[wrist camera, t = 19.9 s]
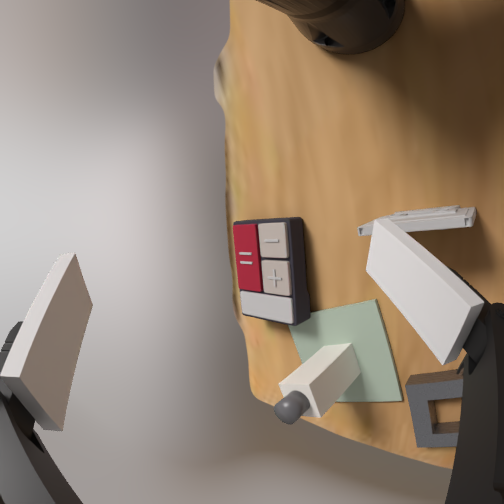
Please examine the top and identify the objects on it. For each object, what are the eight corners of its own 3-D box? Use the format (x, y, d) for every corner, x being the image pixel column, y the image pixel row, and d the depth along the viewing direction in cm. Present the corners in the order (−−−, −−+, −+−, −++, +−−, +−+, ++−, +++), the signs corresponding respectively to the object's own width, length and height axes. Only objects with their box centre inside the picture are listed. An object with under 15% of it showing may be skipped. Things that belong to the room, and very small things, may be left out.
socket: (410, 375, 37) (405, 385, 35) (492, 363, 28) (491, 374, 27) (422, 436, 37) (417, 447, 35) (494, 431, 28) (492, 443, 26)
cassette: (382, 227, 36) (357, 241, 31) (380, 212, 36) (354, 222, 30) (477, 219, 28) (474, 232, 22) (475, 202, 27) (471, 210, 22)
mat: (287, 316, 50) (285, 317, 50) (376, 298, 39) (374, 300, 38) (317, 398, 50) (316, 400, 49) (403, 398, 38) (401, 400, 38)
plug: (323, 346, 46) (262, 395, 36) (351, 342, 42) (293, 398, 32) (333, 373, 45) (276, 427, 36) (360, 372, 42) (306, 431, 32)
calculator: (285, 218, 41) (293, 328, 43) (304, 216, 44) (310, 319, 46) (228, 222, 49) (238, 316, 50) (248, 219, 52) (256, 309, 53)
